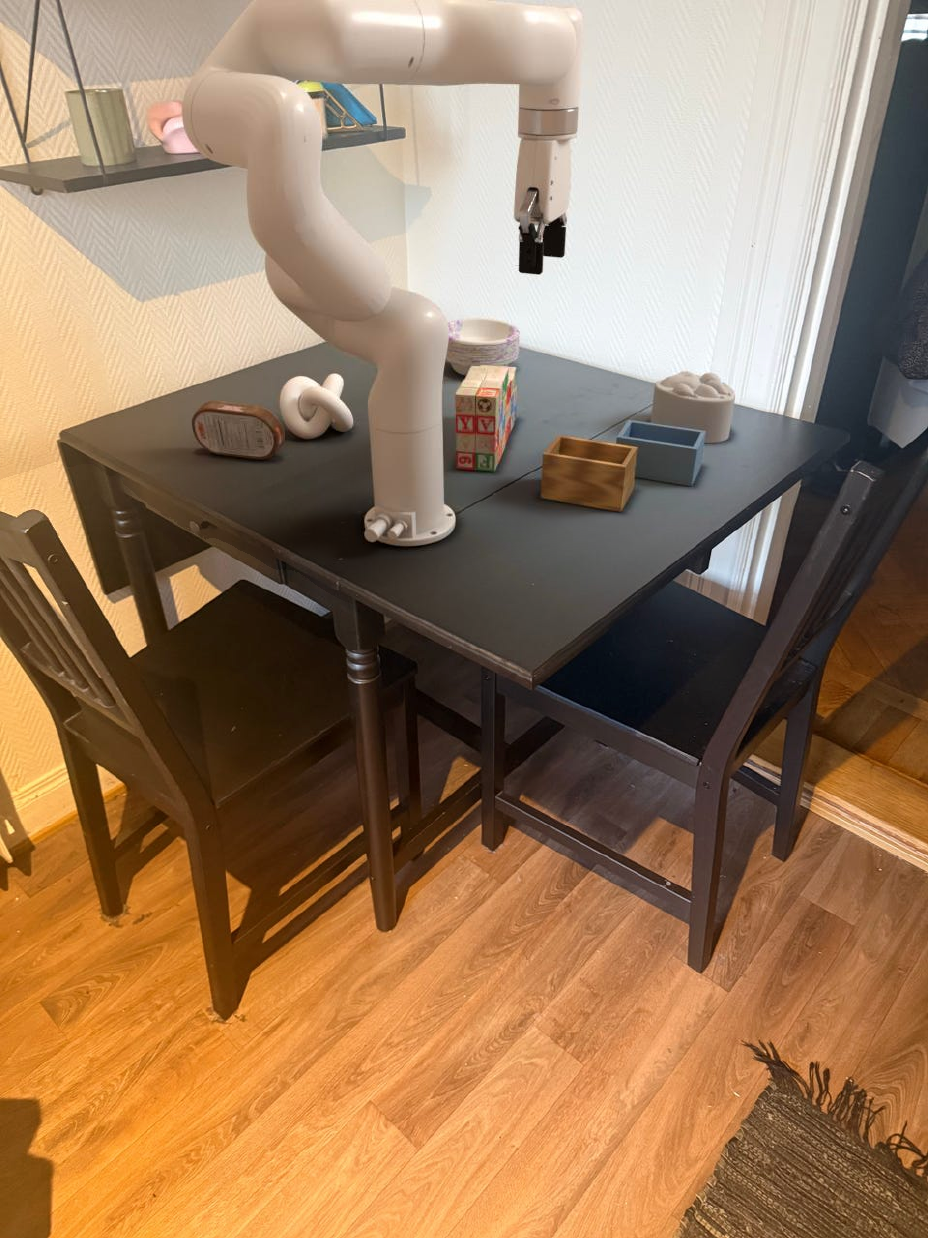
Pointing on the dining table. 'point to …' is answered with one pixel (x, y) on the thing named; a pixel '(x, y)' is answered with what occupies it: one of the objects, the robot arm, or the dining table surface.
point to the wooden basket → (588, 472)
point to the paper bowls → (481, 343)
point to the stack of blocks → (484, 416)
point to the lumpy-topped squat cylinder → (694, 404)
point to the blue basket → (664, 451)
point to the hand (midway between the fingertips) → (542, 264)
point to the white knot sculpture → (314, 406)
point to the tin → (238, 430)
